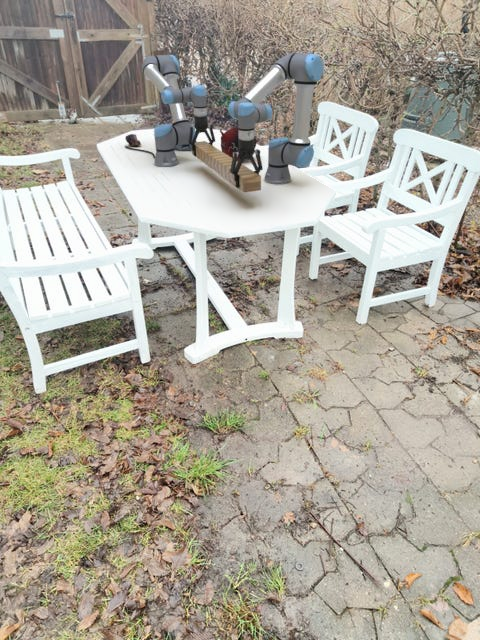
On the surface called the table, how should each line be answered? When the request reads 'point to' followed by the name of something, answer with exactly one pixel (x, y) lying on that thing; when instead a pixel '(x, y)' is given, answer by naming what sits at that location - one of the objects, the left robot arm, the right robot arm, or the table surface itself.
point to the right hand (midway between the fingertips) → (246, 185)
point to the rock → (132, 140)
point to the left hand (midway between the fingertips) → (202, 154)
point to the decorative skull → (231, 142)
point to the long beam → (227, 167)
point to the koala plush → (184, 147)
